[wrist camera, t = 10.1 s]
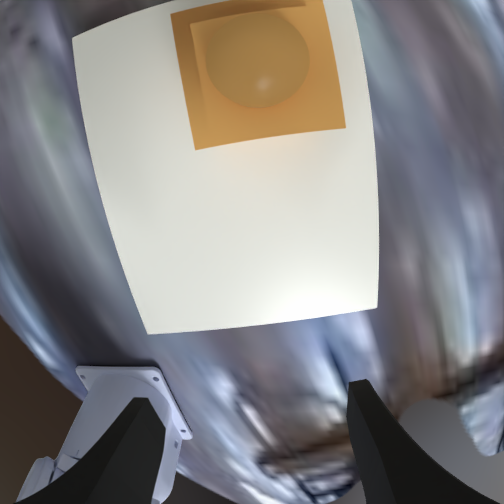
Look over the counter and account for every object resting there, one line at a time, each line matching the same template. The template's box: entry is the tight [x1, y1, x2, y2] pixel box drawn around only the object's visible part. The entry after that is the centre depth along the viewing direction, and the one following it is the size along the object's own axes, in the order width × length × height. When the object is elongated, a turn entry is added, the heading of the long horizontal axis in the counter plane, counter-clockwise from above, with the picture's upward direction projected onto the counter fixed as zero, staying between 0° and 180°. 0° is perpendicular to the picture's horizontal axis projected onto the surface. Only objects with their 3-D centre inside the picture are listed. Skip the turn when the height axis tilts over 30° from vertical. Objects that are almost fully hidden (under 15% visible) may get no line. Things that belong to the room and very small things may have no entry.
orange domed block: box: [170, 0, 346, 150], centre depth 10 cm, size 5×5×6 cm
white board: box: [72, 0, 379, 334], centre depth 15 cm, size 18×14×2 cm
